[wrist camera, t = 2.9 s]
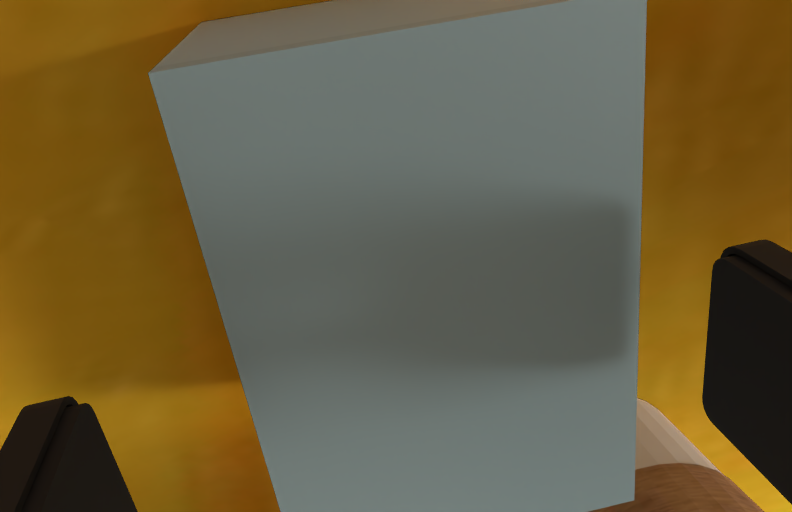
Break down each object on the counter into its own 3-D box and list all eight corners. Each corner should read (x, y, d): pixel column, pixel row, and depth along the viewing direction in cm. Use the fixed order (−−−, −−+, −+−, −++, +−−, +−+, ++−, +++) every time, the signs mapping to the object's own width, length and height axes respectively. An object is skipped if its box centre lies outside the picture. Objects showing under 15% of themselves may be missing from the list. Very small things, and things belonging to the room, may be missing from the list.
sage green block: (497, -27, 16) (647, -13, 9) (521, 327, 20) (634, 500, 14) (201, 22, 15) (148, 73, 9) (293, 377, 19) (301, 580, 13)
